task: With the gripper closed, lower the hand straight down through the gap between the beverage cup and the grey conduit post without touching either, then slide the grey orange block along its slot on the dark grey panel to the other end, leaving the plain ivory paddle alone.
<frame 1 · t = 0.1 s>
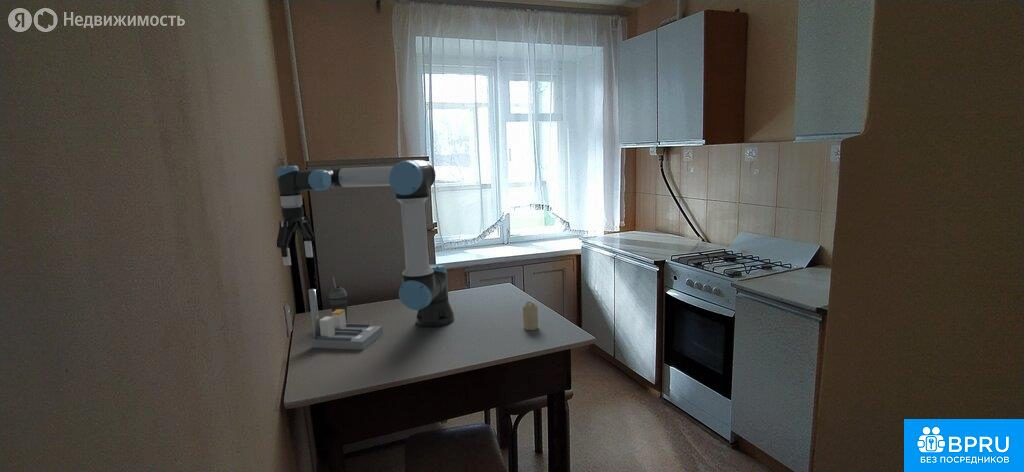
hand: (298, 261, 186), 28 cm above the table, fingers open, 13 cm apart
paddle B: (327, 327, 173), point 7 cm above the table, slide at 0.0 cm
panel: (348, 340, 177), on the table
beverage cup: (341, 324, 195), on the table
conduit post: (317, 337, 173), resting on panel
candle: (530, 328, 181), on the table
grey orange block: (339, 319, 181), point 7 cm above the table, slide at 0.0 cm
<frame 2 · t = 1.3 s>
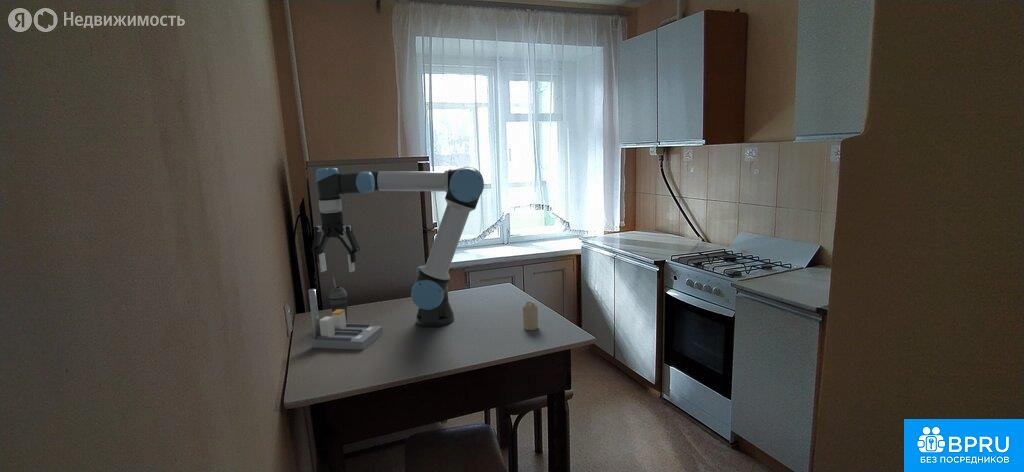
hand: (337, 271, 175), 26 cm above the table, fingers open, 11 cm apart
nothing on the table moved.
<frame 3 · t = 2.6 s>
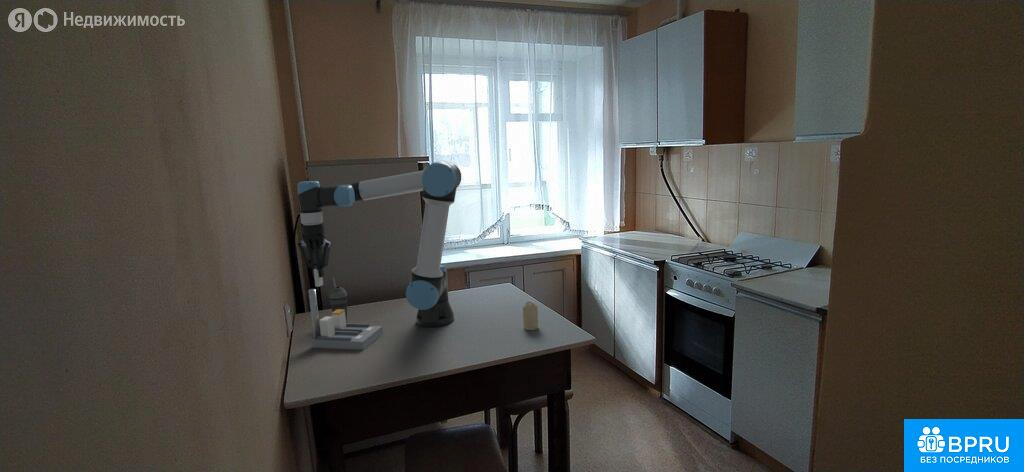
hand: (319, 285, 180), 20 cm above the table, fingers closed
nothing on the table moved.
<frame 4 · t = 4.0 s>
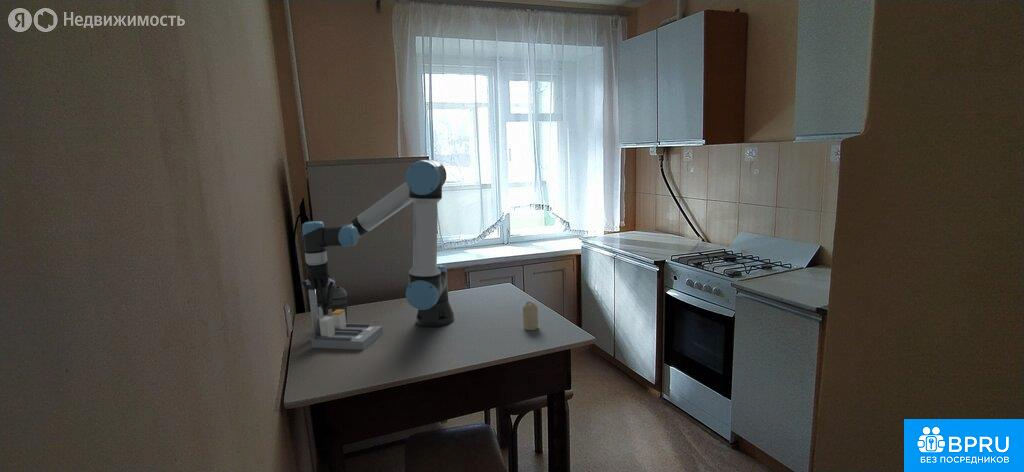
hand: (324, 323, 182), 5 cm above the table, fingers closed
nothing on the table moved.
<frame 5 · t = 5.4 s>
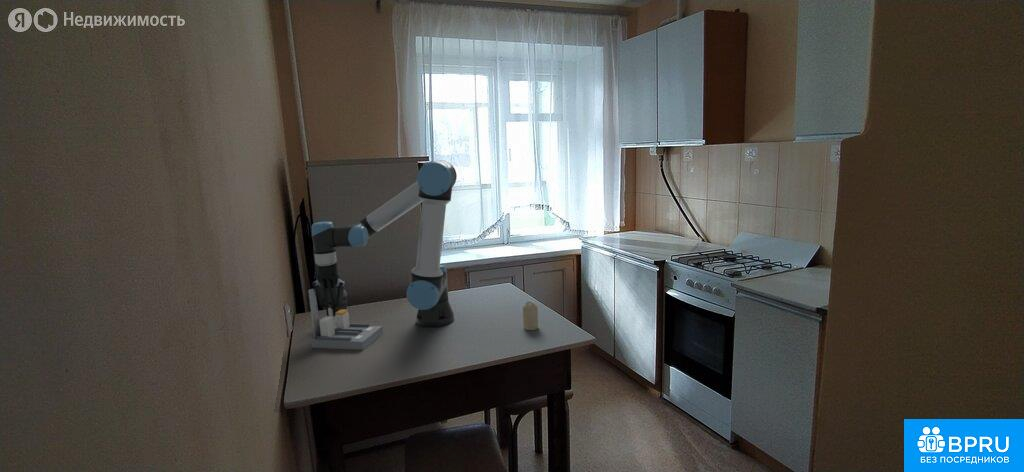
hand: (333, 323, 181), 5 cm above the table, fingers closed
grey orange block: (342, 319, 180), point 7 cm above the table, slide at 1.4 cm, touching gripper
everything else where it was.
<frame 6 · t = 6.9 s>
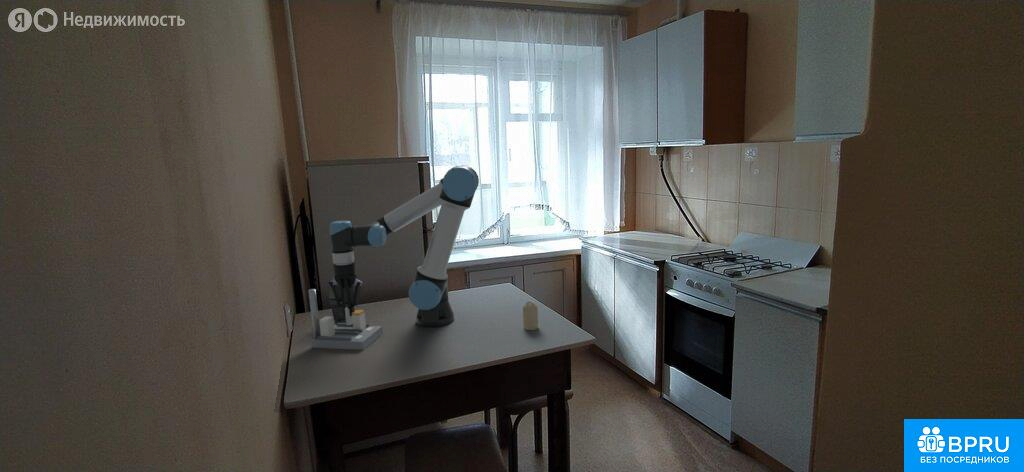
hand: (350, 323, 180), 5 cm above the table, fingers closed
grey orange block: (359, 320, 179), point 7 cm above the table, slide at 8.2 cm, touching gripper
everything else where it was.
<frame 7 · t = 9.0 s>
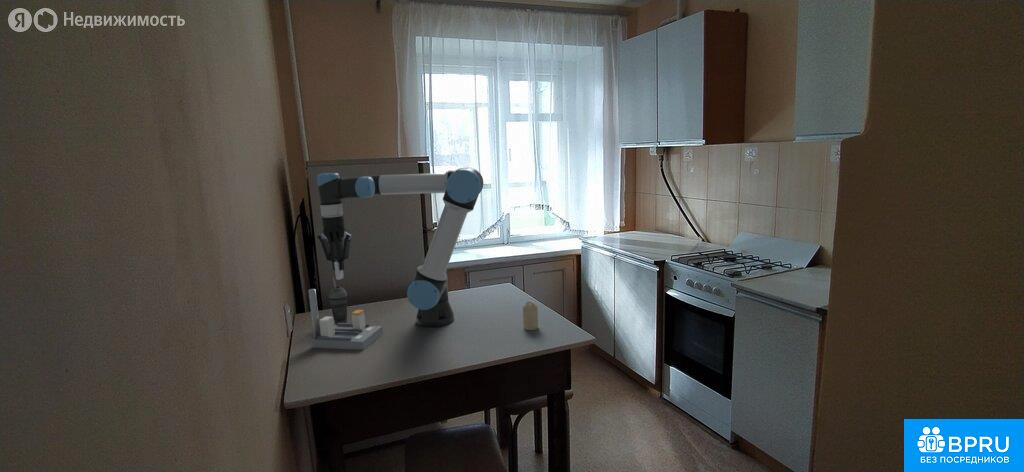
hand: (339, 278, 178), 22 cm above the table, fingers closed
grey orange block: (358, 320, 179), point 7 cm above the table, slide at 8.0 cm
everything else where it was.
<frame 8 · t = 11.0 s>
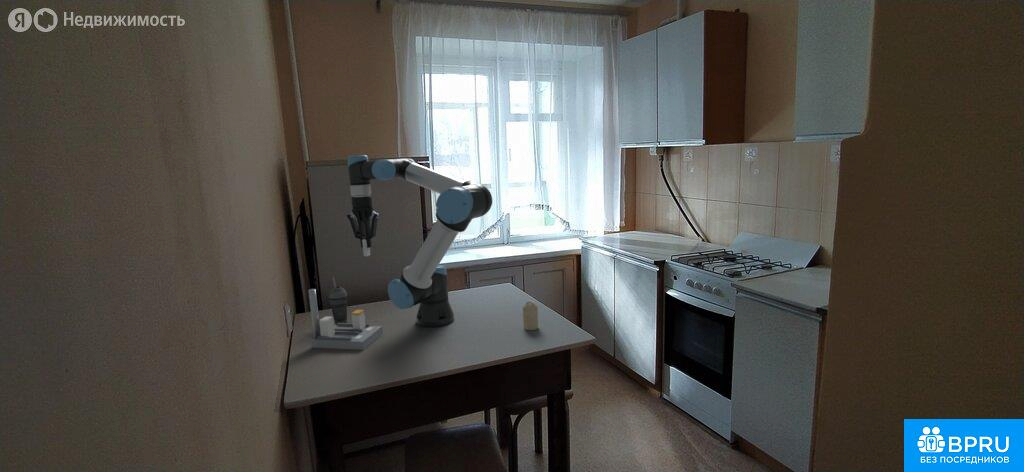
hand: (367, 255, 188), 28 cm above the table, fingers closed
nothing on the table moved.
at the end: grey orange block slide at 8.0 cm; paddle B slide at 0.0 cm; beverage cup moved 0.2 cm from its start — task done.
